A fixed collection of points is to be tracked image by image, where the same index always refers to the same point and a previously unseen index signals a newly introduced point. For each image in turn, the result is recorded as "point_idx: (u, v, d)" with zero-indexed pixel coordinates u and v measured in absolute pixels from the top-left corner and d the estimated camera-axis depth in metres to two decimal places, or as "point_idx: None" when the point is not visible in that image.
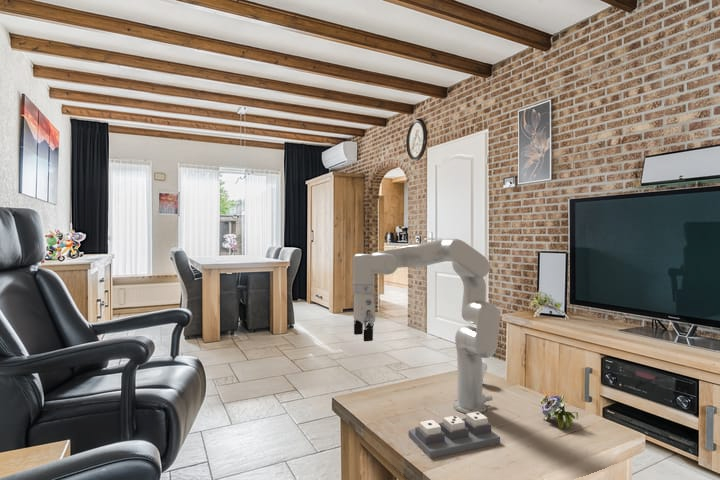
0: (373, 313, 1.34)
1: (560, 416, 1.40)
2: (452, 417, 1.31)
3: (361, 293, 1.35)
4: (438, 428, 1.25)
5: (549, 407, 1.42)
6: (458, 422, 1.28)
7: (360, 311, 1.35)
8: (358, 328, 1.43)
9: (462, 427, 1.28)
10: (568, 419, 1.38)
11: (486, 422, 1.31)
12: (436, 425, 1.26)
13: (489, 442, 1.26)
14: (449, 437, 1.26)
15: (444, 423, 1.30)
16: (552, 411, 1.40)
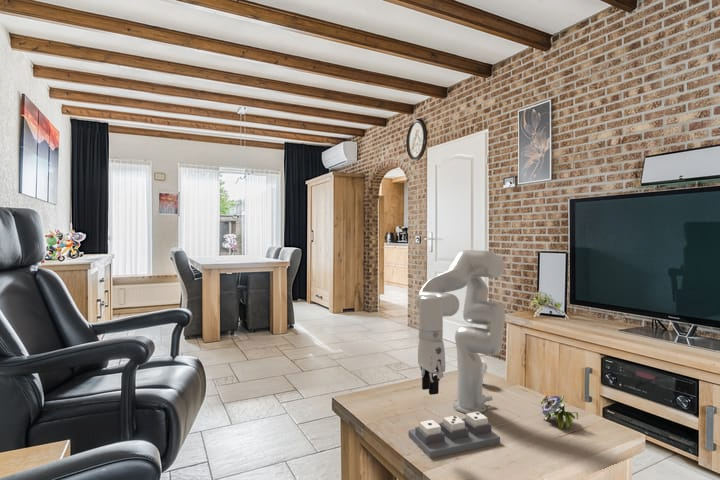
0: (443, 362, 1.22)
1: (560, 416, 1.40)
2: (452, 417, 1.31)
3: (430, 340, 1.23)
4: (438, 428, 1.25)
5: (549, 407, 1.42)
6: (458, 422, 1.28)
7: (429, 360, 1.23)
8: (427, 382, 1.28)
9: (462, 427, 1.28)
10: (568, 419, 1.38)
11: (486, 422, 1.31)
12: (436, 425, 1.26)
13: (489, 442, 1.26)
14: (449, 437, 1.26)
15: (444, 423, 1.30)
16: (552, 411, 1.40)
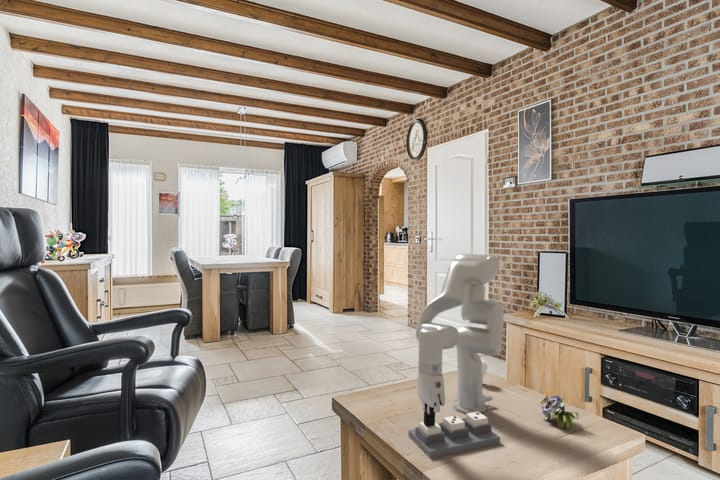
0: (443, 396, 1.22)
1: (560, 416, 1.40)
2: (452, 417, 1.31)
3: (429, 374, 1.23)
4: (438, 428, 1.25)
5: (549, 407, 1.42)
6: (458, 422, 1.28)
7: (428, 394, 1.23)
8: None
9: (462, 427, 1.28)
10: (568, 419, 1.38)
11: (486, 422, 1.31)
12: (436, 425, 1.26)
13: (489, 442, 1.26)
14: (449, 437, 1.26)
15: (444, 423, 1.30)
16: (552, 411, 1.40)
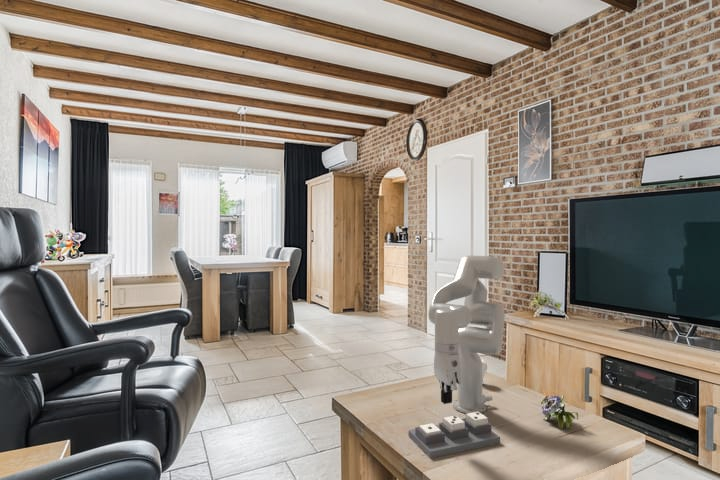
0: (459, 375, 1.25)
1: (560, 416, 1.40)
2: (452, 417, 1.31)
3: (446, 353, 1.25)
4: (438, 431, 1.25)
5: (549, 407, 1.42)
6: (458, 422, 1.28)
7: (445, 373, 1.25)
8: None
9: (462, 427, 1.28)
10: (568, 419, 1.38)
11: (486, 422, 1.31)
12: (436, 429, 1.26)
13: (489, 442, 1.26)
14: (449, 437, 1.26)
15: (444, 423, 1.30)
16: (552, 411, 1.40)
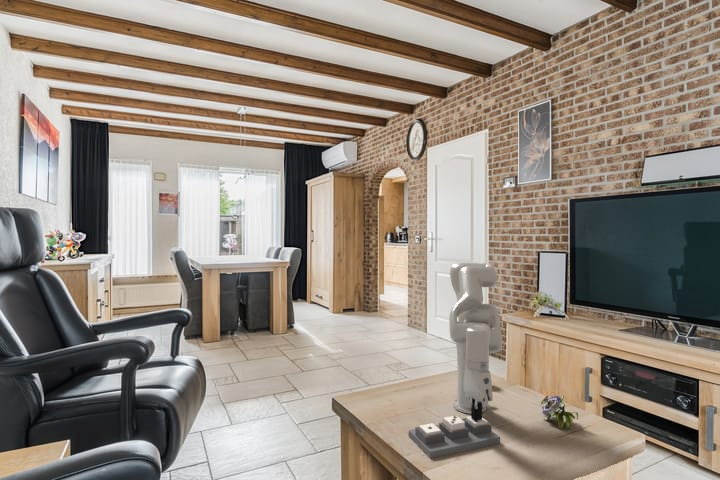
0: (491, 392, 1.29)
1: (560, 416, 1.40)
2: (452, 417, 1.31)
3: (478, 371, 1.29)
4: (438, 431, 1.25)
5: (549, 407, 1.42)
6: (458, 422, 1.28)
7: (477, 390, 1.29)
8: None
9: (462, 427, 1.28)
10: (568, 419, 1.38)
11: None
12: (436, 429, 1.26)
13: (489, 442, 1.26)
14: (449, 437, 1.26)
15: (444, 423, 1.30)
16: (552, 411, 1.40)
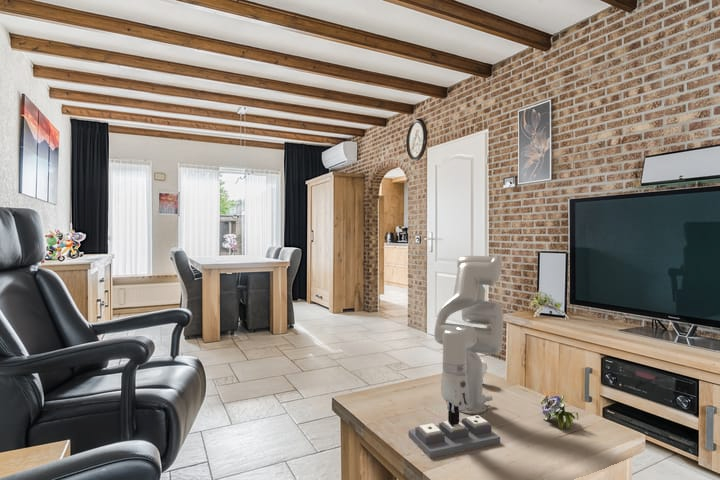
0: (467, 396, 1.26)
1: (560, 416, 1.40)
2: None
3: (454, 374, 1.26)
4: (438, 431, 1.25)
5: (549, 407, 1.42)
6: (458, 425, 1.28)
7: (453, 393, 1.26)
8: None
9: None
10: (568, 419, 1.38)
11: None
12: (436, 429, 1.26)
13: (489, 442, 1.26)
14: (449, 437, 1.26)
15: None
16: (552, 411, 1.40)
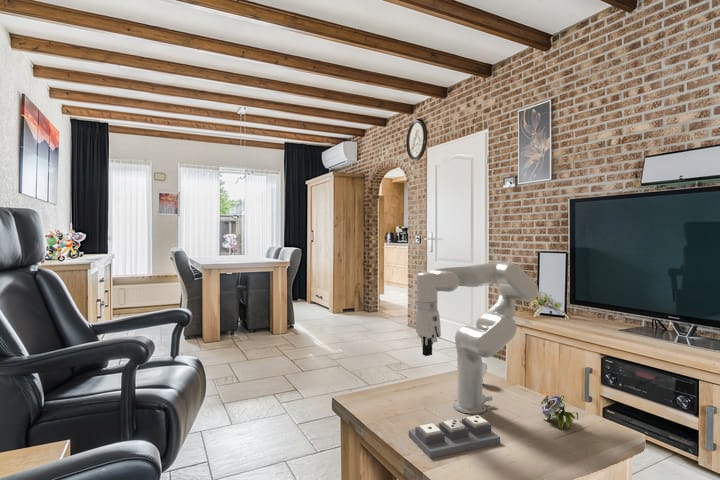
0: (439, 329, 1.42)
1: (560, 416, 1.40)
2: (452, 421, 1.31)
3: (427, 310, 1.42)
4: (438, 431, 1.25)
5: (549, 407, 1.42)
6: (458, 426, 1.28)
7: (427, 327, 1.42)
8: None
9: None
10: (568, 419, 1.38)
11: None
12: (436, 429, 1.26)
13: (489, 442, 1.26)
14: (449, 437, 1.26)
15: None
16: (552, 411, 1.40)
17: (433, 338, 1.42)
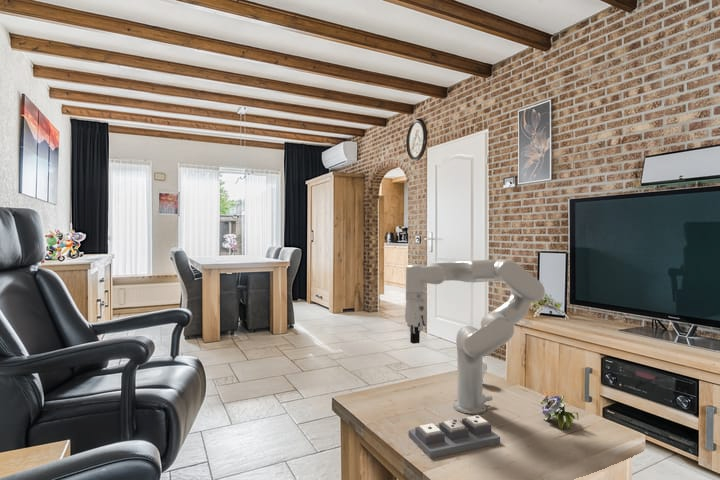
0: (425, 318, 1.51)
1: (560, 416, 1.39)
2: (452, 421, 1.31)
3: (414, 300, 1.51)
4: (438, 431, 1.25)
5: (549, 407, 1.42)
6: (458, 426, 1.28)
7: (413, 316, 1.51)
8: None
9: None
10: (568, 419, 1.38)
11: None
12: (436, 429, 1.26)
13: (489, 442, 1.26)
14: (449, 437, 1.26)
15: None
16: (552, 411, 1.40)
17: (419, 326, 1.50)
